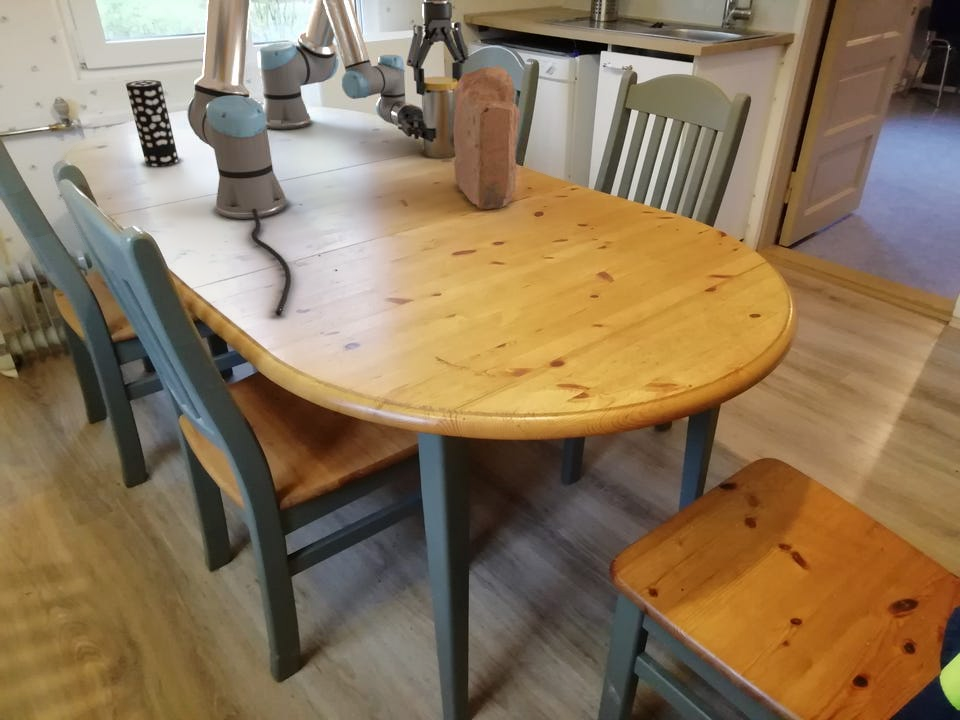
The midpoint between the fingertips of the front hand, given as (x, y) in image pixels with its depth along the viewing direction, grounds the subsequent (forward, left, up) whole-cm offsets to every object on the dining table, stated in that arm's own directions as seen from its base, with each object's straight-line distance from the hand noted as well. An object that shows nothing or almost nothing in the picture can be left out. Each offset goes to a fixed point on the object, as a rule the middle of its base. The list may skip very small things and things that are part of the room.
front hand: (438, 91), depth 187 cm
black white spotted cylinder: (+26, +71, -7) cm, 76 cm away
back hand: (-4, 0, -10) cm, 11 cm away
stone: (-37, +6, -17) cm, 41 cm away
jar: (0, 0, -17) cm, 17 cm away
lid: (0, 0, +3) cm, 3 cm away
